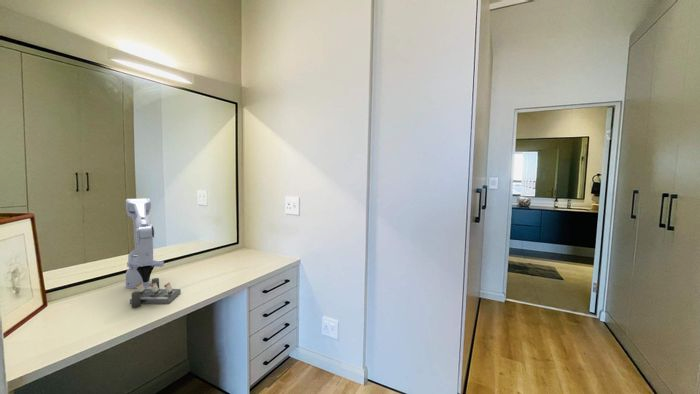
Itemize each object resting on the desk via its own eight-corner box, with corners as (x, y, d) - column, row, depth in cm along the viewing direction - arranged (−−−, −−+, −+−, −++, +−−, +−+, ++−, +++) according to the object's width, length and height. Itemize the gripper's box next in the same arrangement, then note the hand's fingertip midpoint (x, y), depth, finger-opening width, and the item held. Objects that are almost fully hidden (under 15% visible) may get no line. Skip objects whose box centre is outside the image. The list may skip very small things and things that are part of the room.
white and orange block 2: (153, 294, 131) (149, 285, 130) (157, 291, 133) (153, 283, 133) (156, 293, 131) (152, 284, 130) (159, 290, 134) (155, 282, 133)
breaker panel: (130, 303, 126) (129, 298, 126) (145, 293, 137) (144, 287, 137) (168, 303, 128) (168, 298, 128) (180, 293, 139) (180, 287, 138)
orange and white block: (167, 294, 131) (163, 285, 131) (170, 291, 134) (167, 283, 134) (170, 293, 131) (166, 284, 131) (173, 290, 134) (169, 282, 134)
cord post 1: (130, 307, 123) (129, 294, 122) (134, 304, 126) (134, 291, 125) (137, 307, 123) (137, 294, 123) (142, 304, 126) (141, 291, 125)
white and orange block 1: (139, 294, 130) (135, 285, 129) (143, 291, 133) (139, 283, 132) (142, 293, 130) (138, 284, 129) (145, 290, 133) (141, 282, 132)
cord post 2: (150, 292, 138) (150, 280, 137) (154, 289, 141) (153, 278, 140) (157, 292, 138) (156, 280, 137) (160, 289, 141) (160, 278, 140)
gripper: (122, 255, 125) (123, 285, 126) (157, 255, 127) (158, 285, 128) (132, 250, 132) (133, 278, 133) (166, 250, 134) (166, 279, 135)
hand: (146, 281), depth 131 cm, fingers closed
